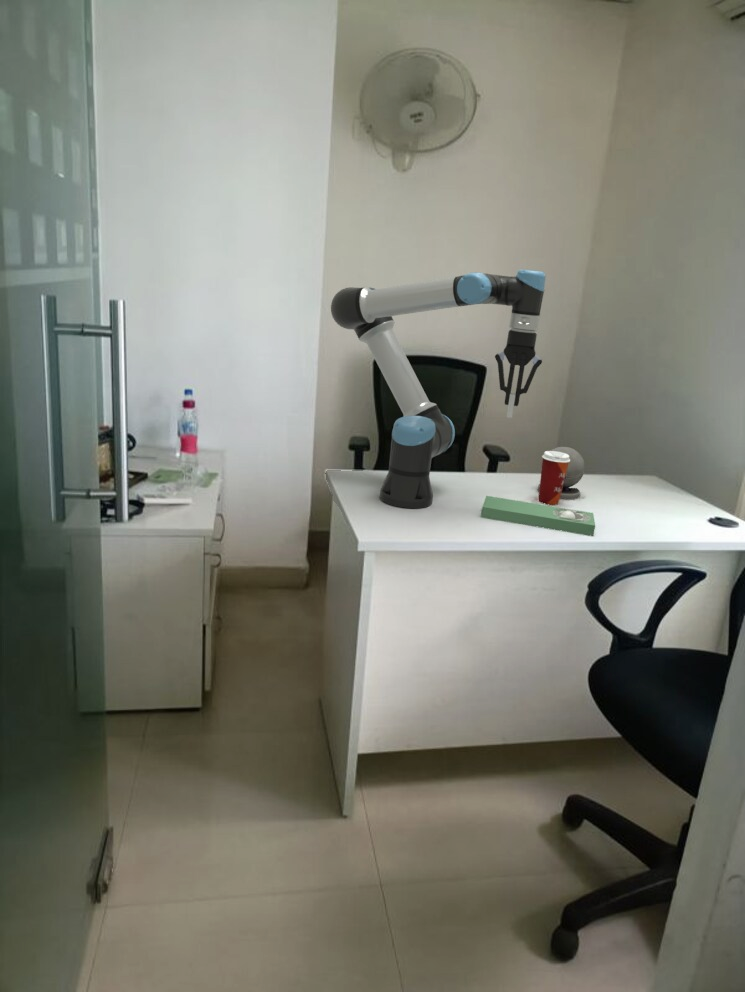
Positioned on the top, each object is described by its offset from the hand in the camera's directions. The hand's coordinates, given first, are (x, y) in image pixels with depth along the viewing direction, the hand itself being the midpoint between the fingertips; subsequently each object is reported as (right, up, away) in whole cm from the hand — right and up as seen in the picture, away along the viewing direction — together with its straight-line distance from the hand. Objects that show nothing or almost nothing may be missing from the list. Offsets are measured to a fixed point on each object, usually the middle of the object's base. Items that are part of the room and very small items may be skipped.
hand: (509, 416), depth 197 cm
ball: (+16, -28, -3) cm, 32 cm away
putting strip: (+8, -29, 0) cm, 30 cm away
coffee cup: (+15, -24, +17) cm, 33 cm away
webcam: (+21, -21, +27) cm, 40 cm away
